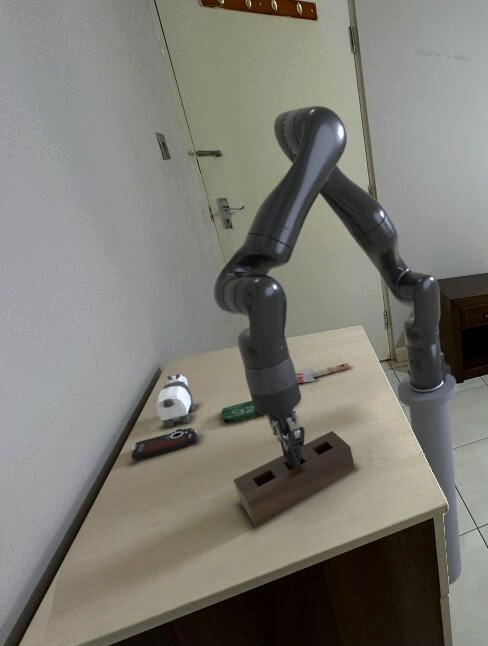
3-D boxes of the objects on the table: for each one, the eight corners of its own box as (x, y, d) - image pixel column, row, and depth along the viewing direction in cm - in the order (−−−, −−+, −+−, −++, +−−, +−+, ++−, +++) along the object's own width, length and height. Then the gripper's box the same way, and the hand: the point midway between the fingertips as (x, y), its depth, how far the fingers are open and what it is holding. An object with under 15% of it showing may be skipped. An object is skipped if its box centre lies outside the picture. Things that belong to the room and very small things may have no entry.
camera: (135, 437, 90) (196, 422, 96) (139, 448, 91) (199, 432, 97) (129, 451, 85) (193, 434, 91) (134, 462, 86) (197, 444, 92)
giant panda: (190, 424, 99) (178, 391, 95) (162, 431, 97) (148, 397, 93) (199, 396, 111) (189, 366, 107) (174, 401, 108) (163, 371, 105)
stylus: (303, 477, 81) (289, 430, 76) (307, 482, 80) (293, 434, 75) (293, 483, 80) (278, 435, 75) (297, 488, 78) (282, 440, 74)
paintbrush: (274, 376, 115) (346, 359, 126) (276, 384, 116) (347, 367, 127) (276, 381, 112) (349, 364, 123) (278, 390, 113) (350, 371, 124)
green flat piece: (221, 426, 96) (221, 406, 103) (223, 431, 96) (223, 411, 104) (296, 405, 104) (291, 388, 112) (297, 409, 105) (292, 392, 112)
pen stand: (241, 503, 76) (232, 479, 74) (337, 452, 89) (332, 430, 87) (256, 527, 71) (247, 502, 69) (355, 469, 84) (350, 446, 82)
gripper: (311, 386, 69) (328, 464, 76) (280, 362, 78) (298, 434, 84) (264, 405, 64) (287, 487, 71) (236, 377, 73) (259, 452, 79)
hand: (293, 458), depth 77 cm, fingers closed on stylus, 2 cm apart
